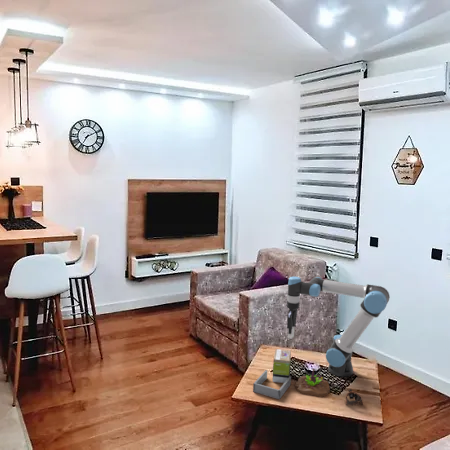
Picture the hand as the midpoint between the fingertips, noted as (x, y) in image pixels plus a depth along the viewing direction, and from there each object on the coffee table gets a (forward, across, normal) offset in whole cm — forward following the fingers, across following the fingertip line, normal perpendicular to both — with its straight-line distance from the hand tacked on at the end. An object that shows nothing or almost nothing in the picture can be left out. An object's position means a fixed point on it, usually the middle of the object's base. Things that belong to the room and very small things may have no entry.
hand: (290, 337), depth 289 cm
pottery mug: (+21, +22, +45) cm, 54 cm away
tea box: (+21, +14, 0) cm, 25 cm away
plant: (+21, +16, +20) cm, 33 cm away
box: (+21, +30, 0) cm, 36 cm away
